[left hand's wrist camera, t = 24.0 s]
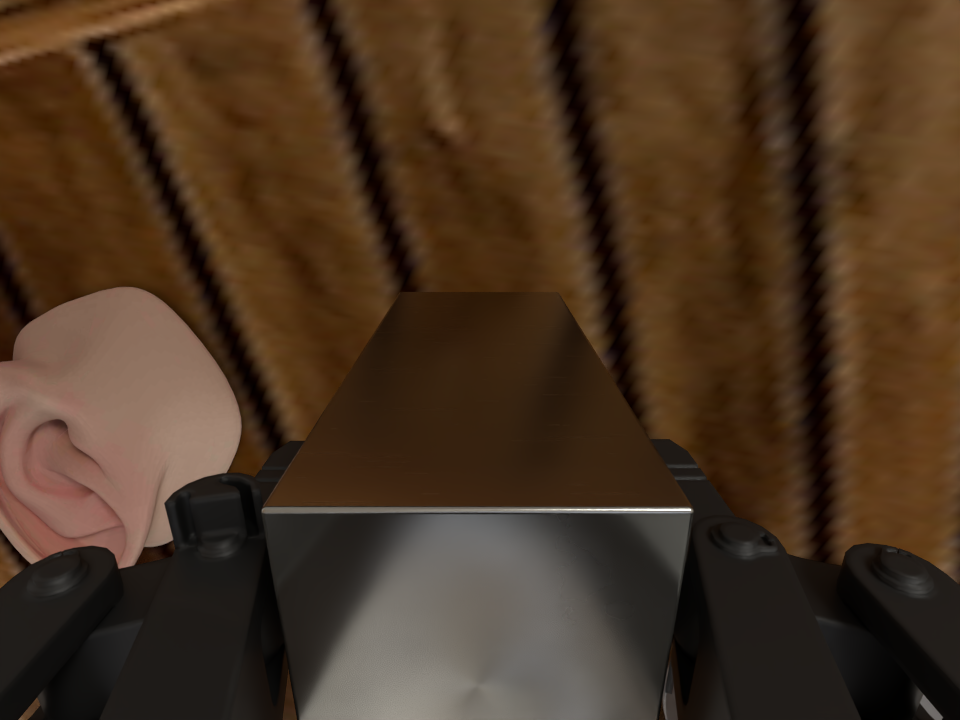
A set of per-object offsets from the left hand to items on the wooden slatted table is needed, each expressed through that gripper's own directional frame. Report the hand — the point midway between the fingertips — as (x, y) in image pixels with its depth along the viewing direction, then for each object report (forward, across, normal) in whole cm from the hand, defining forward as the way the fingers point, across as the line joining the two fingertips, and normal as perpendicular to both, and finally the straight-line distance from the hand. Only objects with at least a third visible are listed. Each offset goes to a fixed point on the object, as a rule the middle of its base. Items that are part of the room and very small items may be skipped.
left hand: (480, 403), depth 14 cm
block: (+2, 0, 0) cm, 2 cm away
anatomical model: (+10, +17, +6) cm, 21 cm away
